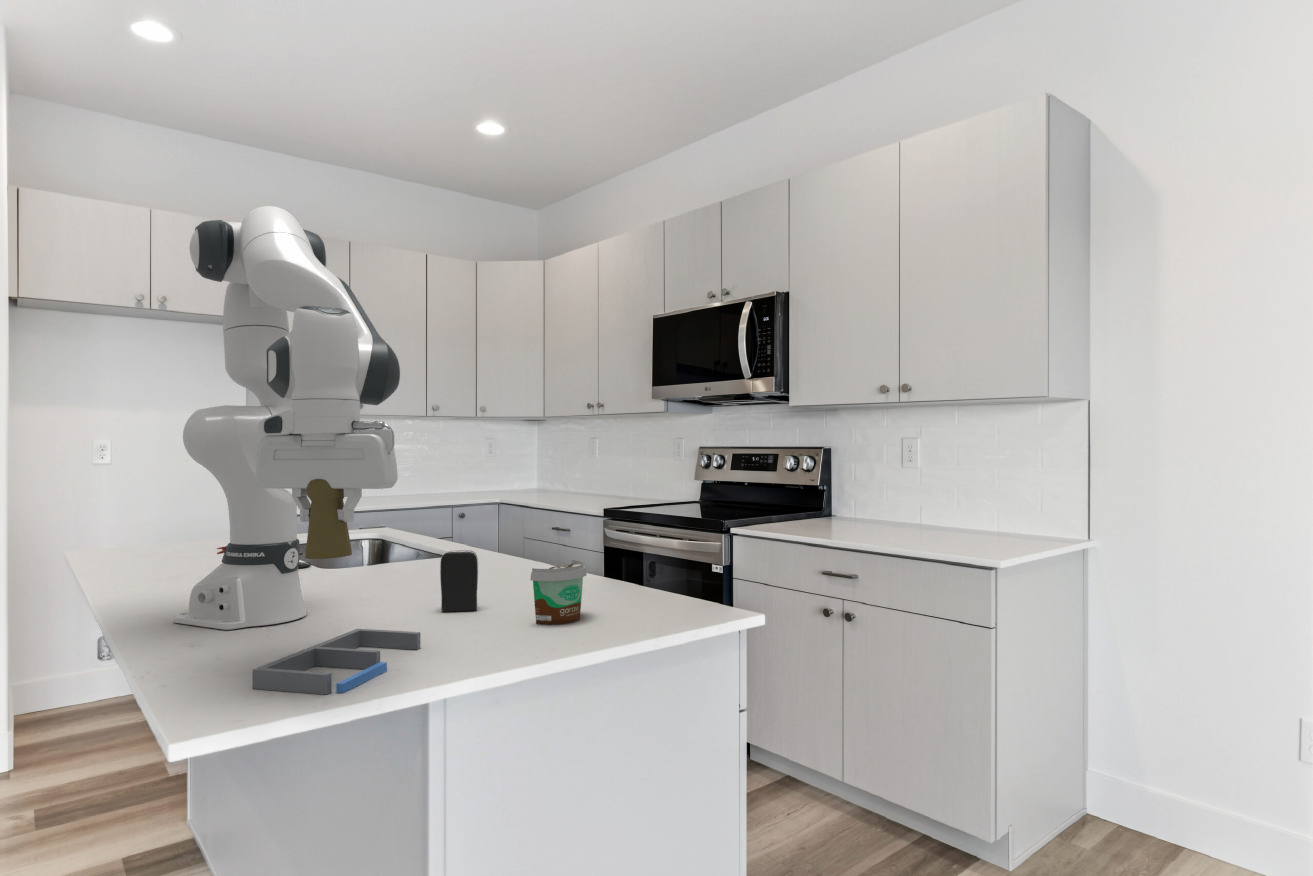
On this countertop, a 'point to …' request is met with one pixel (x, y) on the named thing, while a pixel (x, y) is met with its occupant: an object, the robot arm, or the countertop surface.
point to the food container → (558, 593)
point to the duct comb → (333, 662)
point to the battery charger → (459, 581)
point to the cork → (326, 522)
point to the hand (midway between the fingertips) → (327, 521)
